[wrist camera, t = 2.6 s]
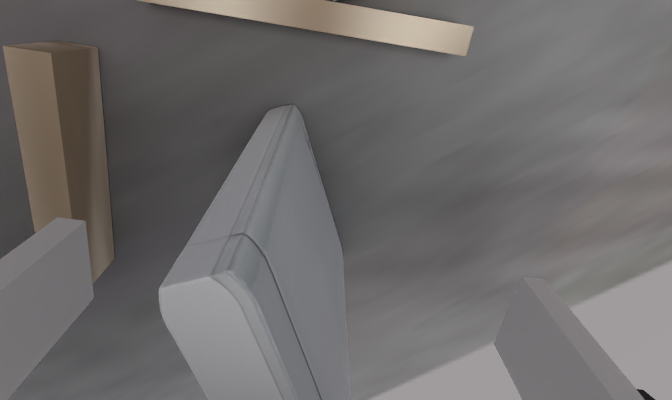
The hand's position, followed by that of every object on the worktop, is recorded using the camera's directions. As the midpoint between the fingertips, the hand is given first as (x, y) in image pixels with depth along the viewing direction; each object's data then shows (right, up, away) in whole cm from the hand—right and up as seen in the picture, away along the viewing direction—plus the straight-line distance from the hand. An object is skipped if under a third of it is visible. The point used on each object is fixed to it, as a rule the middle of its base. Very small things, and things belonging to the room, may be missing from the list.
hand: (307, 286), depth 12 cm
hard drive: (0, +3, +7) cm, 7 cm away
